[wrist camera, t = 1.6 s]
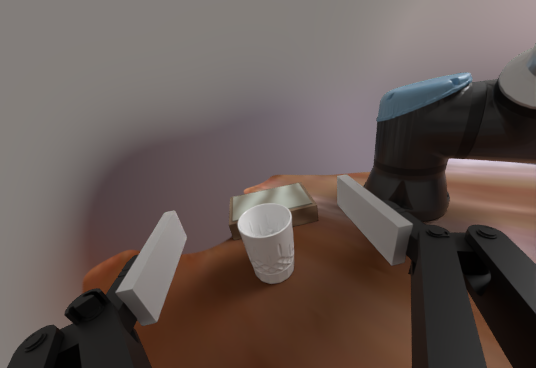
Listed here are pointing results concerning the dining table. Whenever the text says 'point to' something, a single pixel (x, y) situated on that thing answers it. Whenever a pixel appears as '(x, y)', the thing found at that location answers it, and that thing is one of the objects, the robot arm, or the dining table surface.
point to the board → (287, 196)
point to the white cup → (268, 241)
